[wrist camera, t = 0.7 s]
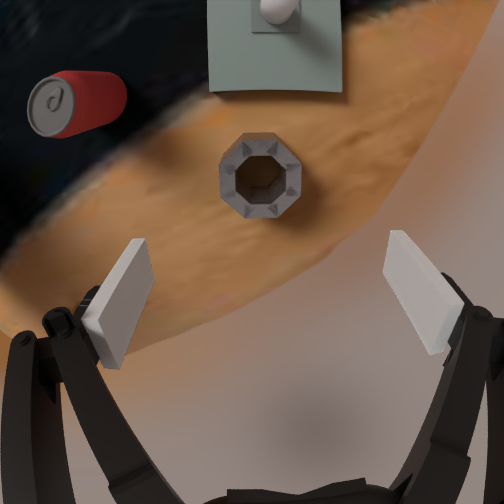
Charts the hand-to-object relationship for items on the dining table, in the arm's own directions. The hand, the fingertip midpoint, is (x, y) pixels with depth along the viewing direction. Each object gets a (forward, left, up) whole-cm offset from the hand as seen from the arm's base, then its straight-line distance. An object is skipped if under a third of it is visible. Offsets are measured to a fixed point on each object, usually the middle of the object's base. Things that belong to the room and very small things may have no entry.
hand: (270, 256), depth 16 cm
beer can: (-18, +10, -22) cm, 30 cm away
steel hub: (0, 0, -22) cm, 22 cm away
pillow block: (+2, +18, -22) cm, 28 cm away
